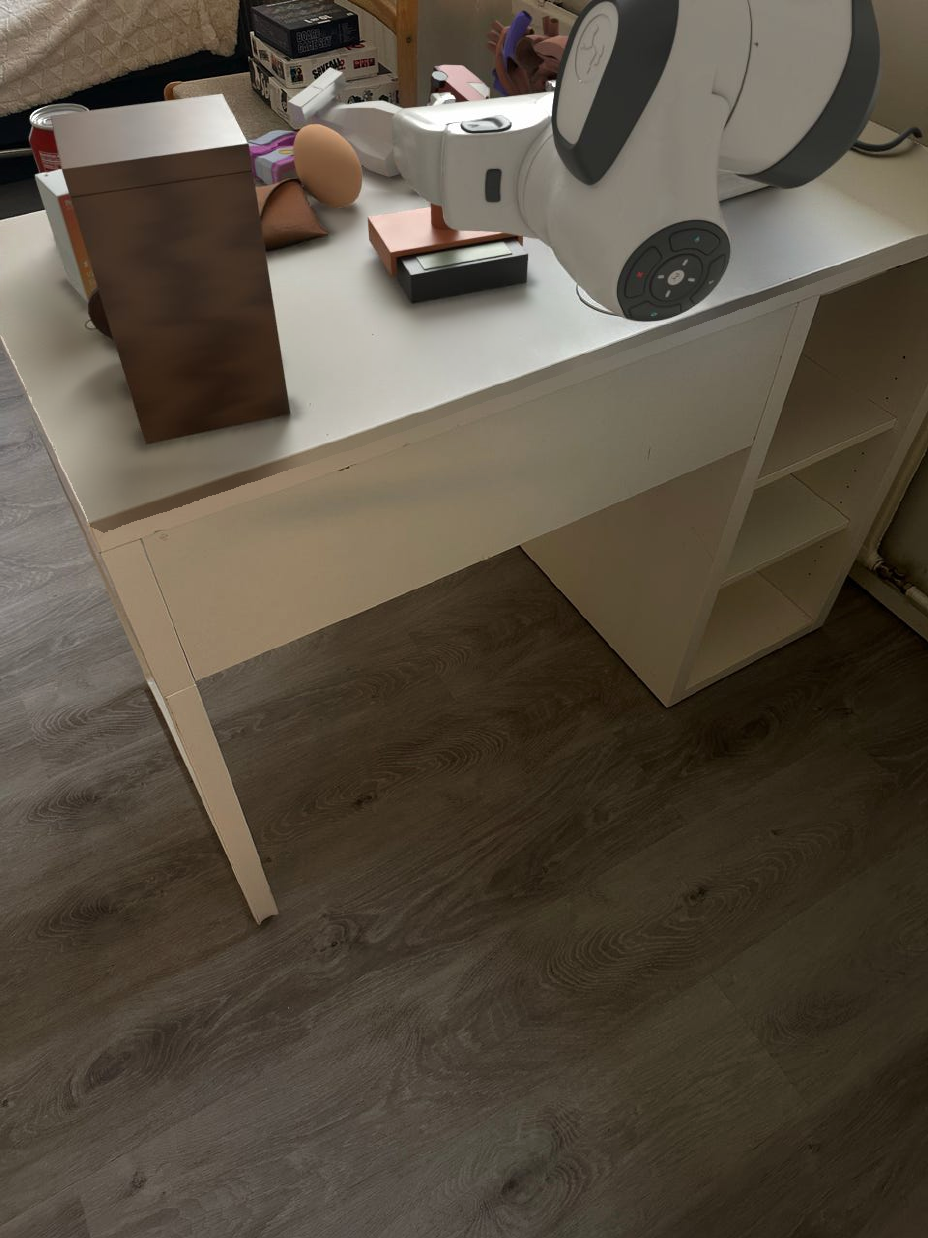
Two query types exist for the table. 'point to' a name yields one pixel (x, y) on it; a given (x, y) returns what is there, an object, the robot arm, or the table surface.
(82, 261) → the small box
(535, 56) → the anatomical model
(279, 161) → the toy gun
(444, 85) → the toy truck
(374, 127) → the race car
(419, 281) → the calculator
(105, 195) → the tall brown rectangular box
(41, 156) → the soda can
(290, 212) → the sunglasses case
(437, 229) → the slab with cylinder handle
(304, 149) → the egg
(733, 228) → the table surface
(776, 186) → the robot arm
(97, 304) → the compass
